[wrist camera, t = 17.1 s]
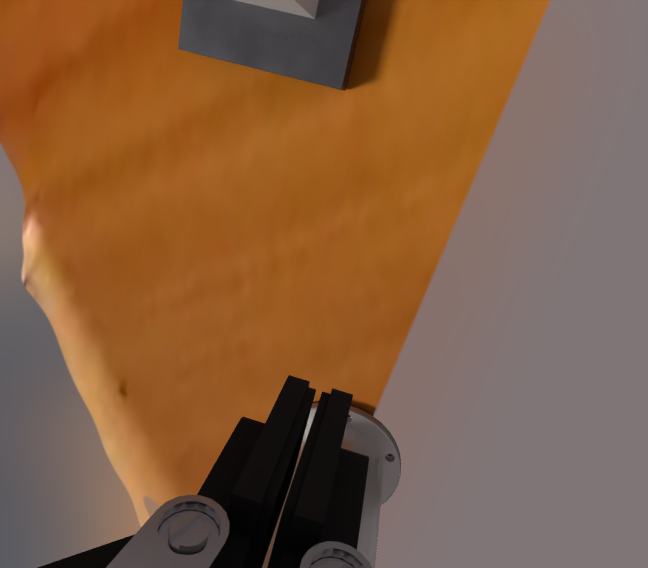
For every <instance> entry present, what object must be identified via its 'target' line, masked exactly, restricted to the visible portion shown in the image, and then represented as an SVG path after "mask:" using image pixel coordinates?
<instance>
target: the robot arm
mask: <svg viewBox="0 0 648 568" xmlns="http://www.w3.org/2000/svg"><path fill="white" fill-rule="evenodd" d="M315 392H316V389H312V388H309V381H306V380H303V379H300V378H296V377H293V376H290V375H289V376H288V378H287V380H286V382H285V384H284V386H283V388H282V390H281V392H280V394H279V396H278V398H277V401H276V403H275V405H274V407H273V409H272V411H271V413H270V415H269V417H268V419H267V421H266V423H261V422H258V421H255V420H252V419H249V418H246V417H242V418H241V420H240V421H239V423H238V424H237V426H236V428H235V430H234V431H233V433H232V435H231V437H230V438H229V440H228V442H227V444H226V445H225V447H224V449H223V451H222V452H221V454H220V456H219V457H218V459H217V461H216V463H215V464H214V466H213V468H212V470H211V471H210V473H209V475H208V477H207V478H206V480H205V482H204V484H203V485H202V487H201V489H200V491H199V492H198V494H197V495H185V496H179V497H176V498H174V499H172V500H169V501H167V502H166V503H164V504H163V505H162V506H161V507H160V508H159V509H157V511H156V512H155V513H154V514H153V515H152V516H151V517H150V518H149V519H148V521H147V522H146V523H145V524H144V525H143V526H142V527H141V528H140V530H139V531H138V532H137V533H136V534H135V535H132V536H129V537H126V538H123V539H120V540H117V541H114V542H111V543H109V544H106V545H103V546H100V547H97V548H94V549H91V550H88V551H85V552H82V553H79V554H76V555H73V556H71V557H67V558H65V559H62V560H59V561H56V562H53V563H50V564H47V565H44V566H41V567H38V568H375V558H376V547H377V537H378V527H379V526H378V525H379V516H380V515H379V514H380V506H381V505H382V504H383V503H385V502H386V501H387V500H388V499H389V498H390V497H391V495H392V494H393V493H394V491H395V489H396V487H397V485H398V482H399V478H400V470H401V462H400V461H401V460H400V453H399V450H398V447H397V444H396V442H395V440H394V438H393V437H392V435H391V433H390V432H389V431H388V430H387V429H386V428H385V426H384V425H383V424H382V423H381V422H379V421H378V420H377V419H375V418H374V417H373V416H372V415H370V414H368V413H366V412H365V411H363V410H361V409H359V408H356V407H353V406H351V401H352V397H353V395H352V394H349V393H345V392H342V391H339V390H336V389H332V391H331V394H329V393H325V392H322V394H321V397H320V400H319V403H313V400H314V396H315Z"/></svg>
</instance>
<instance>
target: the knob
mask: <svg viewBox="0 0 648 568" xmlns="http://www.w3.org/2000/svg"><path fill="white" fill-rule="evenodd" d="M236 1H240V2H244V3H248V4H253V5H257V6H261V7H265V8H270V9H274V10H278V11H283V12H287V13H291V14H295V15H300V16H304V17H308V18H313V19H315V17H316V12H317V6H318V1H319V0H236Z"/></svg>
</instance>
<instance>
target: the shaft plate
mask: <svg viewBox="0 0 648 568" xmlns="http://www.w3.org/2000/svg"><path fill="white" fill-rule="evenodd" d="M365 3H366V0H319V1H318V6H317V12H316V17H315V19H313V18H308V17H304V16H300V15H295V14H291V13H287V12H283V11H278V10H274V9H270V8H265V7H261V6H257V5H253V4H248V3H244V2H240V1H236V0H183V7H182V17H181V27H180V37H179V47H178V49H180V50H184V51H188V52H192V53H196V54H200V55H204V56H208V57H212V58H216V59H220V60H224V61H228V62H232V63H236V64H240V65H244V66H248V67H252V68H256V69H260V70H264V71H268V72H272V73H276V74H280V75H284V76H288V77H292V78H296V79H300V80H304V81H308V82H312V83H316V84H320V85H324V86H328V87H332V88H336V89H340V90H344V91H345V90H346V85H347V81H348V77H349V72H350V68H351V64H352V59H353V55H354V50H355V46H356V42H357V37H358V33H359V29H360V24H361V20H362V16H363V11H364V7H365Z"/></svg>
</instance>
